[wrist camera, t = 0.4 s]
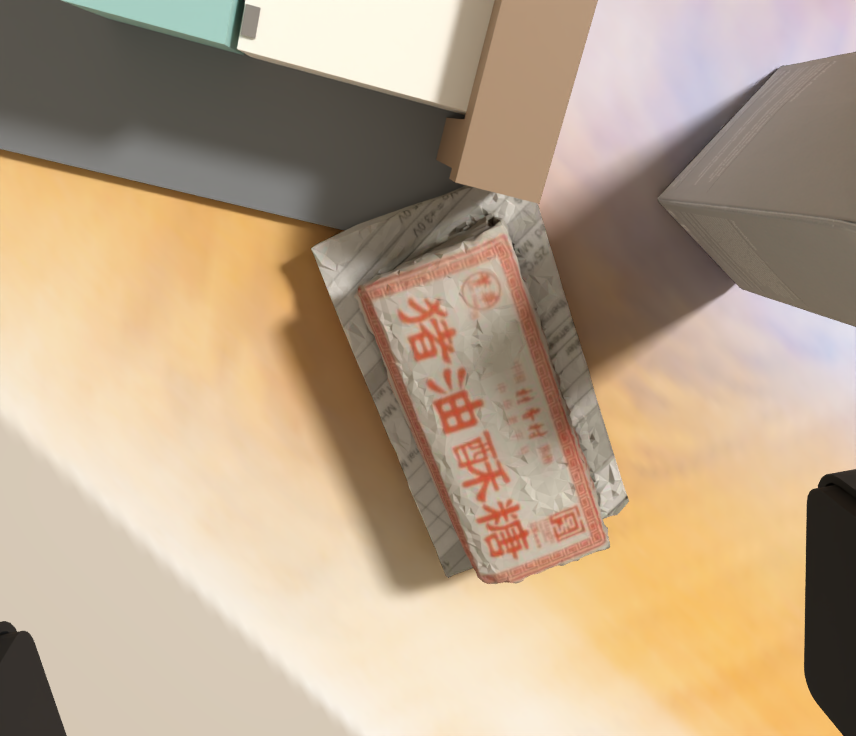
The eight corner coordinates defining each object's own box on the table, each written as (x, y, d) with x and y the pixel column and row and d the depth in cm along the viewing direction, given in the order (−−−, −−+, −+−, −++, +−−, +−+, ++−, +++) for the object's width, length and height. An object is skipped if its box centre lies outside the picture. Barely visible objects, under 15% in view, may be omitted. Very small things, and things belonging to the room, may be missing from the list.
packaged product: (660, 544, 37) (459, 623, 37) (622, 496, 42) (443, 566, 41) (548, 168, 31) (307, 261, 31) (518, 160, 36) (308, 241, 35)
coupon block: (292, -176, 30) (281, -248, 24) (586, -80, 33) (645, -124, 26) (239, 119, 33) (218, 122, 27) (511, 188, 36) (549, 206, 29)
